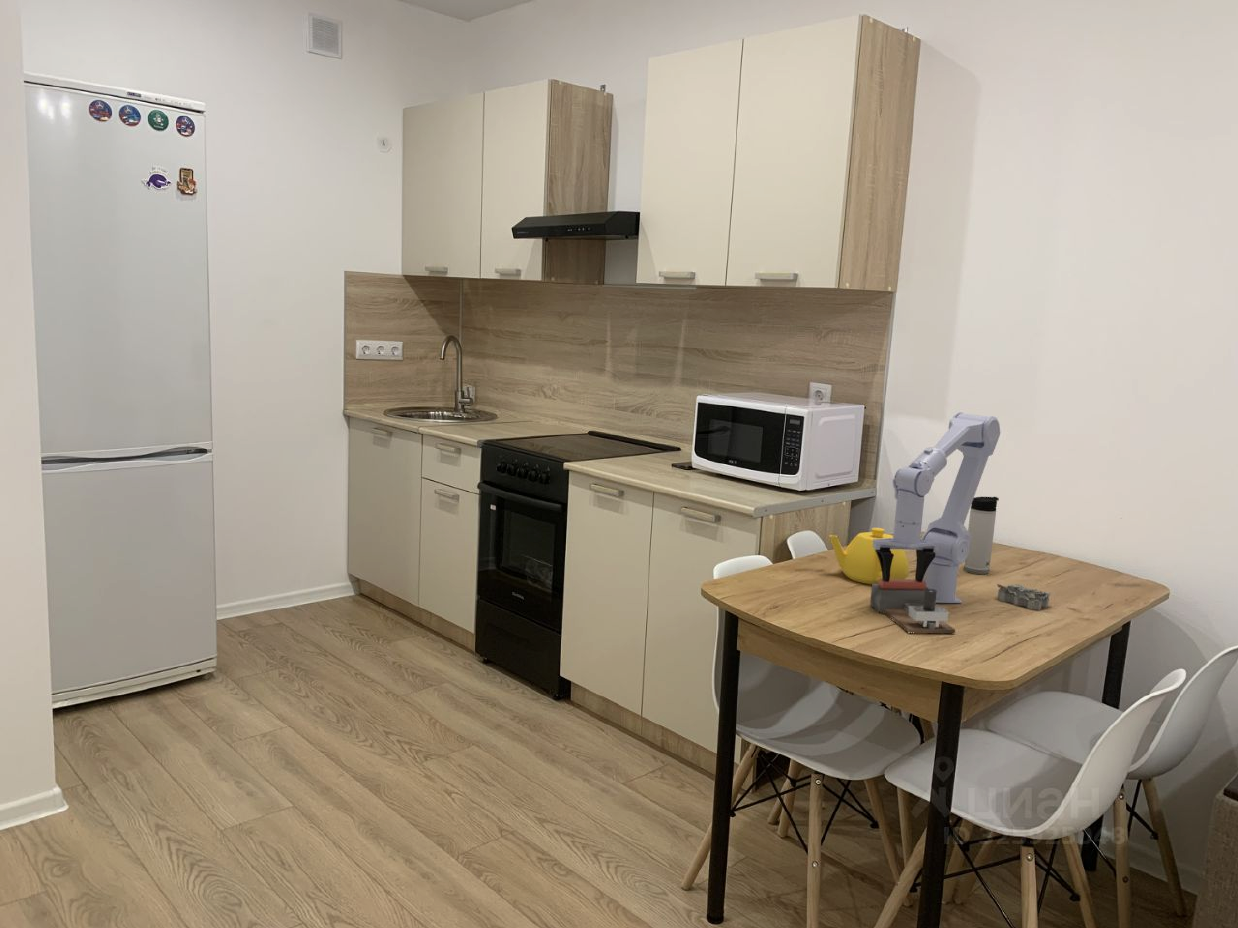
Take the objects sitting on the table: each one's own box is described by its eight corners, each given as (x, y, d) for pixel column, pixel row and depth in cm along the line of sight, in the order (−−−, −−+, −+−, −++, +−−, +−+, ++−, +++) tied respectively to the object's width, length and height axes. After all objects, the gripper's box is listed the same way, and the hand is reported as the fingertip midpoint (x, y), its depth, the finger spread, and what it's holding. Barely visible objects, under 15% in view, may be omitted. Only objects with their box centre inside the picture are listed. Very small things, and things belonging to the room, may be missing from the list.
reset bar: (878, 585, 211) (878, 578, 211) (920, 585, 213) (921, 579, 212) (882, 588, 209) (882, 581, 209) (925, 589, 210) (926, 582, 210)
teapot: (900, 571, 244) (905, 523, 242) (916, 592, 226) (921, 540, 224) (822, 565, 246) (826, 518, 244) (831, 586, 227) (835, 534, 225)
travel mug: (994, 575, 245) (1002, 499, 242) (968, 573, 245) (977, 498, 242) (985, 568, 251) (993, 495, 248) (960, 567, 251) (968, 493, 248)
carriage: (907, 621, 199) (911, 587, 198) (939, 621, 199) (943, 588, 198) (914, 626, 195) (918, 592, 194) (947, 627, 196) (950, 593, 195)
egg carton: (992, 600, 223) (994, 583, 223) (1010, 595, 228) (1012, 579, 227) (1035, 612, 215) (1037, 595, 214) (1052, 607, 219) (1054, 590, 219)
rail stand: (870, 605, 213) (872, 583, 212) (920, 605, 215) (923, 584, 214) (903, 633, 195) (906, 610, 194) (959, 634, 196) (961, 611, 195)
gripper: (883, 524, 204) (877, 585, 206) (947, 526, 205) (941, 586, 207) (871, 517, 211) (865, 576, 213) (933, 519, 212) (927, 577, 214)
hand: (902, 580), depth 211 cm, fingers open, 7 cm apart
